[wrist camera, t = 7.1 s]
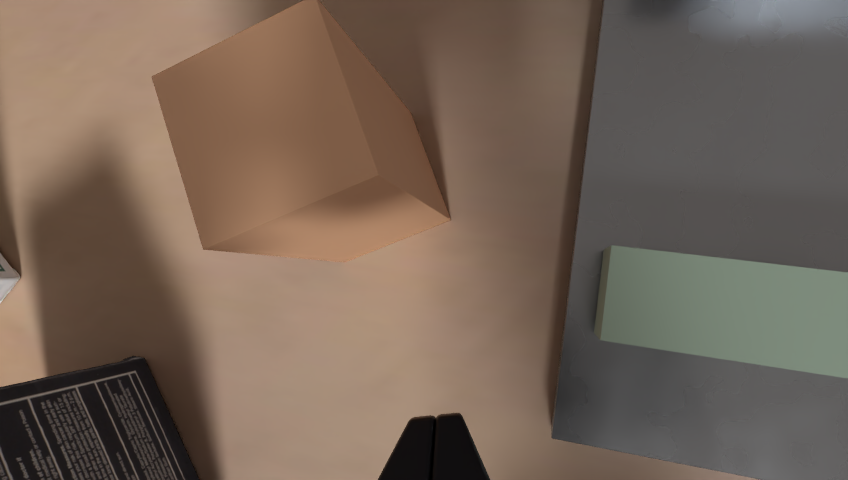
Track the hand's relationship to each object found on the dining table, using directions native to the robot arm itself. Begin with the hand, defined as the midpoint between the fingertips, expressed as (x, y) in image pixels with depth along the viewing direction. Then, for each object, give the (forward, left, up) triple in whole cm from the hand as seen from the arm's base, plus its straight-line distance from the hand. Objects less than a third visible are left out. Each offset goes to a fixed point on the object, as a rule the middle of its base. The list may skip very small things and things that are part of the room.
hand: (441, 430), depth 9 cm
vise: (+11, +1, -13) cm, 18 cm away
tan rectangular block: (-1, +8, -13) cm, 16 cm away
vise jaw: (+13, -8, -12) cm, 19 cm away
